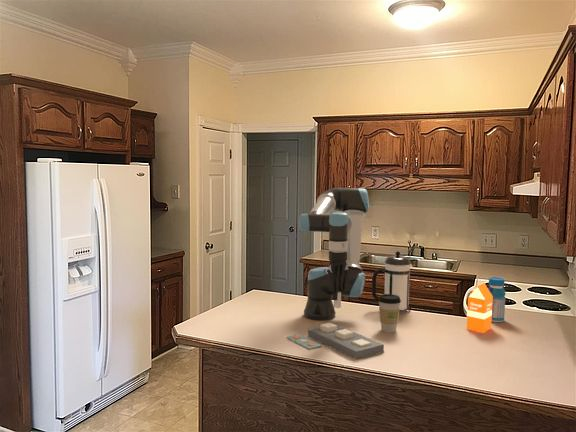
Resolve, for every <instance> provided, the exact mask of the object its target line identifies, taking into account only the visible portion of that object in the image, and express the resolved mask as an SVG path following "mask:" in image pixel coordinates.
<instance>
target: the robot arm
mask: <svg viewBox="0 0 576 432" xmlns="http://www.w3.org/2000/svg"><path fill="white" fill-rule="evenodd" d="M368 212H370V200H369V194H368V190H367V189H366V188H361V187H334V188H330V189H327V190H325V191H324V192H322V193H321V194H319V196H318V197H317V199H316V204H315V205H314V206H313V207H312V209H311V210H310V212H308V213H301V214H300V216H299V218H298V227H299V230H300V231H302V232H313V233H314V232H315V233H316V232H317V233H319V232H320V233H328V250H329V251H328V260H329V264H328V266H321V267H320V266H319V267H315V268H312V269H310V270H308V273H307V274H308V275H307V301H306V304H305V307H304V310H303V316H304V317H305V318H306V319H309V320H313V321H329V320H332V319H335V317H336V311H335V308H336V309H341V307H342V298H343V297H347V298H359V297H360V296H361V295H362V293H363V291H364V286H365V283H366V282H365V279H366V275H365V273H364V272H363V268H362V267H361V266H360V261H361V260H360V259H361V245H362V244H361V243H362V229H363V228H362V227H363V219H364V218H365V217H366V216H367V213H368Z"/></svg>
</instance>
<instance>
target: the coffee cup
mask: <svg viewBox="0 0 576 432" xmlns="http://www.w3.org/2000/svg"><path fill="white" fill-rule="evenodd" d="M378 297H379V299H378V300H377V301H378V305H379V309H378V310H379V319H380V326H381V327H380V328H381V331H382V332H384V333H395V332H396V331H397V324H398V321H399V314H400V310H399V305H400V302H401V300H400V297H399V296H397V295H392V294H380V295H379V296H378Z"/></svg>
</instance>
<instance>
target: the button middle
mask: <svg viewBox="0 0 576 432" xmlns="http://www.w3.org/2000/svg"><path fill="white" fill-rule="evenodd" d="M346 329H347V328H345V329H343V330H338V331H336V337H338V338H340V339H342V340H346V339H350V338H353V332H354V331H352V330H350V329H348V330H346ZM349 330H350V331H349ZM351 331H352V332H351Z"/></svg>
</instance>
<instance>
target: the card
mask: <svg viewBox="0 0 576 432" xmlns="http://www.w3.org/2000/svg"><path fill="white" fill-rule="evenodd" d="M285 338H286V339H287V340H289V341H291V342H293V343H295V344H297V345H298V346H301V347H303V348H305V349H307V350H309V351H311V350H315V349H319V348H322V345H321V344H320V343H318V342H316V341H313V340H311V339H309V338H307V337H305V336H302V335H300V334H293V335H289V336H286V337H285Z"/></svg>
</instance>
